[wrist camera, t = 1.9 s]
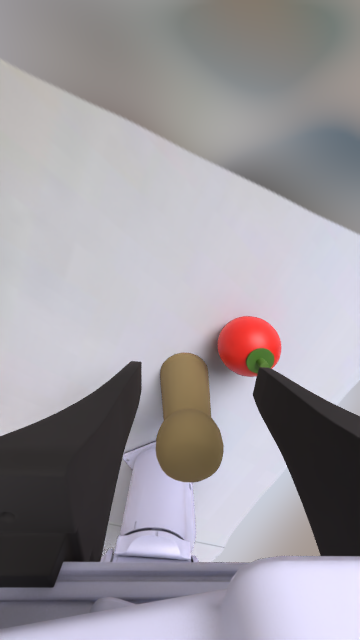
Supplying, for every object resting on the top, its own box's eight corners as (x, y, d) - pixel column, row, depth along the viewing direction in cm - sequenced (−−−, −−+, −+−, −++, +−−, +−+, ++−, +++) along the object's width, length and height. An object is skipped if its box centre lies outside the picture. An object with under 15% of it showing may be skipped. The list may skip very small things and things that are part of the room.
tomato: (270, 344, 22) (309, 379, 16) (224, 364, 23) (243, 406, 16) (254, 300, 20) (289, 319, 14) (204, 323, 21) (216, 351, 15)
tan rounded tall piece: (175, 344, 22) (175, 421, 11) (217, 366, 23) (252, 456, 13) (151, 381, 23) (131, 479, 13) (191, 401, 25) (203, 506, 14)
